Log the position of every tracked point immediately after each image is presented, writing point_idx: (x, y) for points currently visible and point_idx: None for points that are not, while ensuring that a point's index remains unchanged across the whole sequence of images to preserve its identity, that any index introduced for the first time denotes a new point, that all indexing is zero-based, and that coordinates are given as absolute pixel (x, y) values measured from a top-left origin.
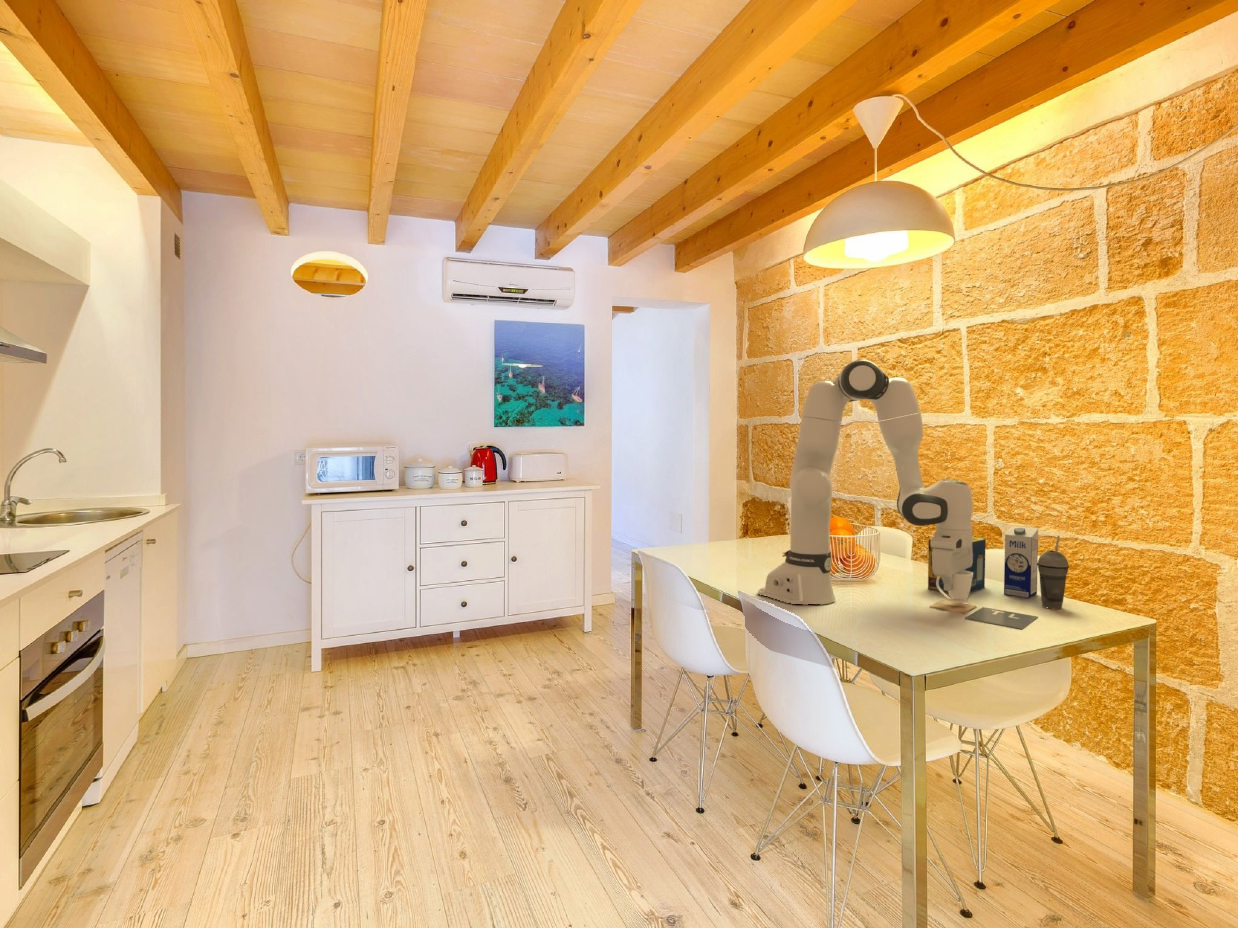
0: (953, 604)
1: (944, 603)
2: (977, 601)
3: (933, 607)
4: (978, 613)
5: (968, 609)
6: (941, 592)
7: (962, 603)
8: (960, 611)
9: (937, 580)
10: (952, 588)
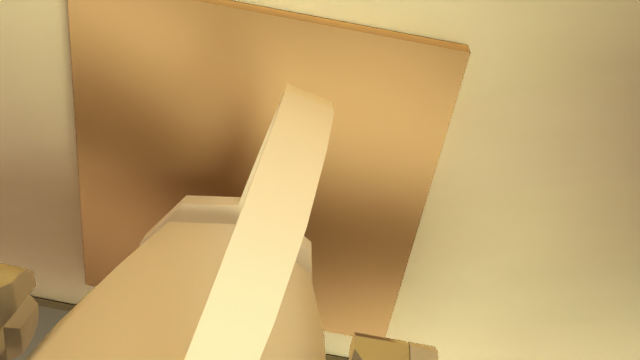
0: None
1: None
2: (630, 327)
3: (74, 15)
4: None
5: None
6: (270, 124)
7: (397, 247)
8: (86, 254)
9: (274, 146)
10: (20, 345)
